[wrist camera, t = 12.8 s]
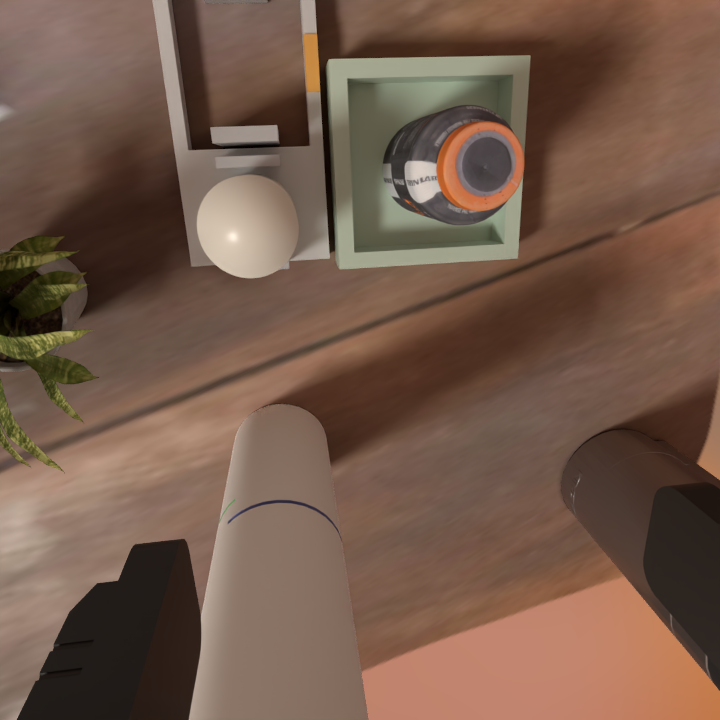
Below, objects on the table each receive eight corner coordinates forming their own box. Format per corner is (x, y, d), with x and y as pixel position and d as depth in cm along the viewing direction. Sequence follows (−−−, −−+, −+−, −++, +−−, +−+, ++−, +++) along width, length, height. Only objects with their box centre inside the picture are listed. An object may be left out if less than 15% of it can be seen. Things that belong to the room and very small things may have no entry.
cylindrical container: (344, 454, 42) (414, 803, 19) (270, 500, 43) (251, 894, 20) (293, 386, 40) (302, 692, 17) (215, 436, 41) (118, 801, 17)
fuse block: (303, -169, 29) (310, -316, 20) (328, 255, 37) (341, 282, 28) (132, -173, 28) (62, -331, 19) (195, 262, 36) (165, 293, 27)
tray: (510, 64, 34) (530, 55, 32) (500, 251, 39) (517, 258, 36) (325, 68, 33) (328, 58, 30) (335, 261, 37) (339, 269, 34)
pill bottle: (379, 212, 36) (418, 230, 25) (383, 116, 34) (427, 92, 23) (464, 214, 37) (537, 232, 26) (473, 120, 35) (555, 98, 24)
